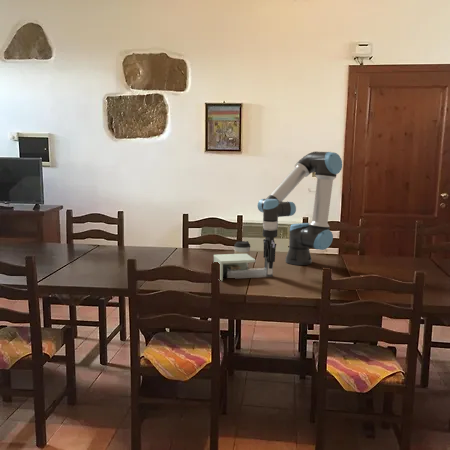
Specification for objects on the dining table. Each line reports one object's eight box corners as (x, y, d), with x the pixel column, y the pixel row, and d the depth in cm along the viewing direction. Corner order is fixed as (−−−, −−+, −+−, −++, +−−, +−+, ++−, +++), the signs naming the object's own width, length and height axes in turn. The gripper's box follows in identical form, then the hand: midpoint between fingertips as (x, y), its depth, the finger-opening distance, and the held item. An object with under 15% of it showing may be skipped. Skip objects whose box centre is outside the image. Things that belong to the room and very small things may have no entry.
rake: (267, 272, 276) (267, 254, 274) (272, 276, 267) (273, 258, 265) (222, 274, 270) (223, 255, 268) (227, 278, 261) (227, 259, 259)
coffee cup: (236, 270, 278) (236, 243, 276) (231, 266, 287) (232, 240, 285) (252, 269, 281) (252, 242, 278) (246, 265, 289) (247, 239, 287)
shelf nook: (246, 272, 275) (246, 253, 274) (254, 279, 261) (255, 259, 259) (213, 273, 271) (213, 254, 269) (220, 281, 256) (220, 261, 255)
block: (237, 273, 272) (237, 264, 271) (240, 276, 267) (240, 266, 266) (228, 274, 271) (228, 264, 270) (230, 276, 266) (231, 267, 265)
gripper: (258, 226, 271) (256, 269, 275) (268, 232, 255) (266, 277, 259) (271, 226, 273) (270, 269, 277) (282, 231, 257) (280, 277, 261)
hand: (268, 273), depth 268 cm, fingers closed on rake, 3 cm apart
